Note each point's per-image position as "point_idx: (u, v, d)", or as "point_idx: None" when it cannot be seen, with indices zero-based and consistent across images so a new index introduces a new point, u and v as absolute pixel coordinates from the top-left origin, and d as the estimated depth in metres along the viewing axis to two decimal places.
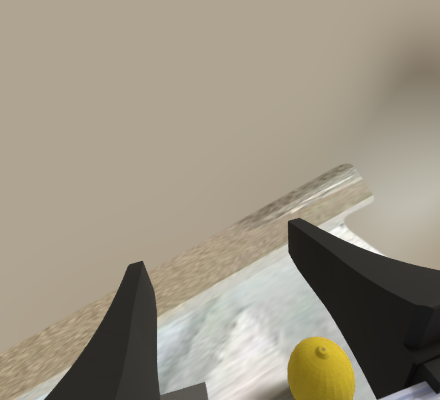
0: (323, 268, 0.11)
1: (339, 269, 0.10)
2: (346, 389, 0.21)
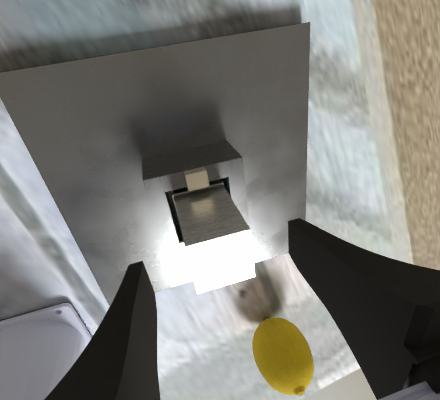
0: (323, 268, 0.11)
1: (339, 269, 0.10)
2: (268, 383, 0.26)
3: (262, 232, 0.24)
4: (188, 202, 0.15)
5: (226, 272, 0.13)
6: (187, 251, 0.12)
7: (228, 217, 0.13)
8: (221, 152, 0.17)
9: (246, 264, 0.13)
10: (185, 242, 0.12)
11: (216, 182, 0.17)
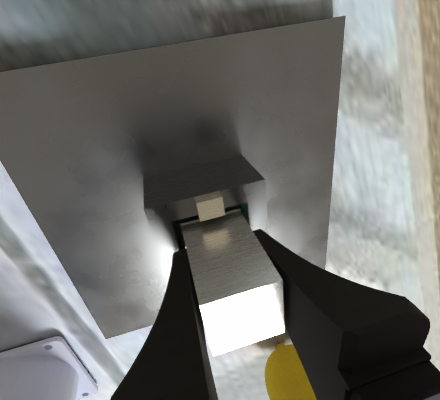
0: None
1: (288, 285, 0.10)
2: None
3: None
4: (200, 235, 0.12)
5: (249, 330, 0.10)
6: (202, 310, 0.09)
7: (252, 261, 0.11)
8: (237, 171, 0.14)
9: (275, 320, 0.11)
10: (199, 298, 0.09)
11: (232, 208, 0.14)
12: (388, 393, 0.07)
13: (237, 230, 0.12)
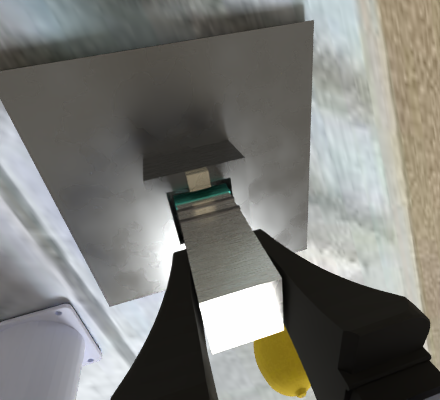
0: None
1: (288, 285, 0.10)
2: None
3: None
4: (199, 234, 0.12)
5: (249, 328, 0.11)
6: (201, 308, 0.09)
7: (251, 259, 0.11)
8: (223, 152, 0.17)
9: (274, 317, 0.11)
10: (199, 296, 0.09)
11: (232, 207, 0.14)
12: (388, 393, 0.07)
13: (236, 229, 0.12)
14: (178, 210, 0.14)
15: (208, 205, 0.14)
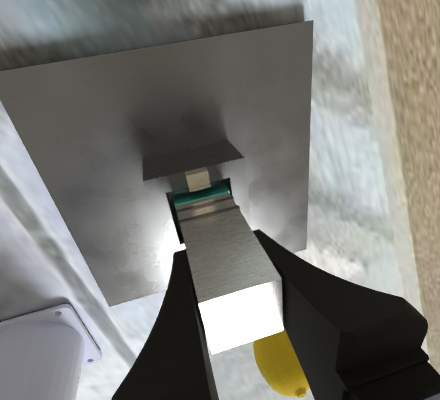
0: None
1: (286, 286, 0.10)
2: None
3: None
4: (199, 234, 0.12)
5: (248, 328, 0.11)
6: (201, 308, 0.09)
7: (251, 259, 0.11)
8: (222, 152, 0.17)
9: (273, 318, 0.11)
10: (198, 296, 0.09)
11: (231, 207, 0.14)
12: (386, 394, 0.07)
13: (236, 229, 0.12)
14: (178, 210, 0.14)
15: (208, 206, 0.14)
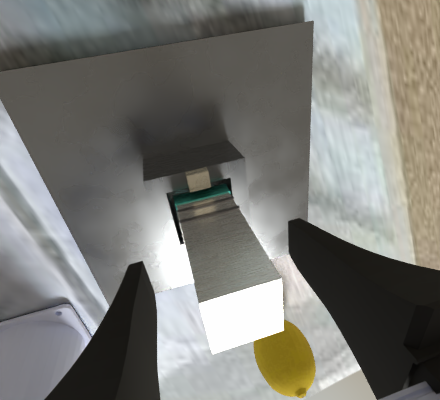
0: (323, 268, 0.11)
1: (339, 269, 0.10)
2: None
3: (264, 233, 0.23)
4: (199, 234, 0.12)
5: (249, 328, 0.11)
6: (201, 308, 0.09)
7: (251, 259, 0.11)
8: (223, 152, 0.17)
9: (274, 317, 0.11)
10: (199, 296, 0.10)
11: (232, 207, 0.14)
12: None
13: (236, 229, 0.12)
14: (178, 210, 0.14)
15: (209, 206, 0.15)
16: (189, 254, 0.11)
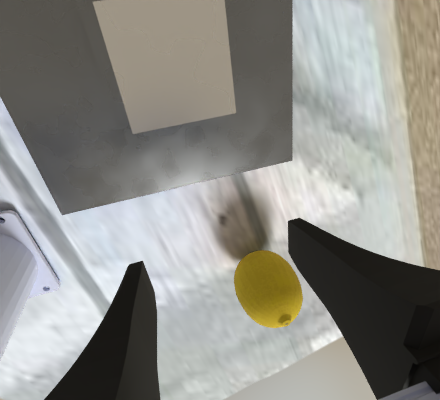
0: (323, 268, 0.11)
1: (339, 269, 0.10)
2: None
3: (242, 132, 0.20)
4: None
5: (183, 91, 0.07)
6: (99, 15, 0.06)
7: None
8: None
9: (219, 79, 0.07)
10: None
11: None
12: None
13: None
14: None
15: None
16: None
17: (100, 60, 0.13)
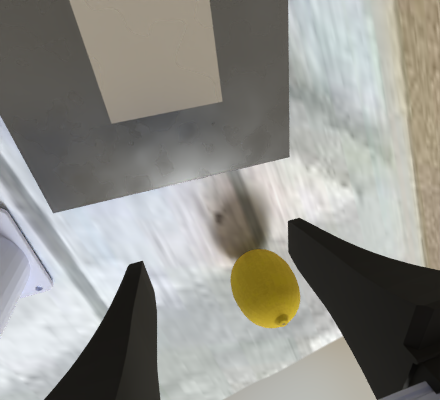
0: (323, 268, 0.11)
1: (339, 269, 0.10)
2: (247, 317, 0.22)
3: (237, 128, 0.20)
4: None
5: (164, 77, 0.07)
6: None
7: None
8: None
9: (203, 64, 0.07)
10: None
11: None
12: None
13: None
14: None
15: None
16: None
17: None
